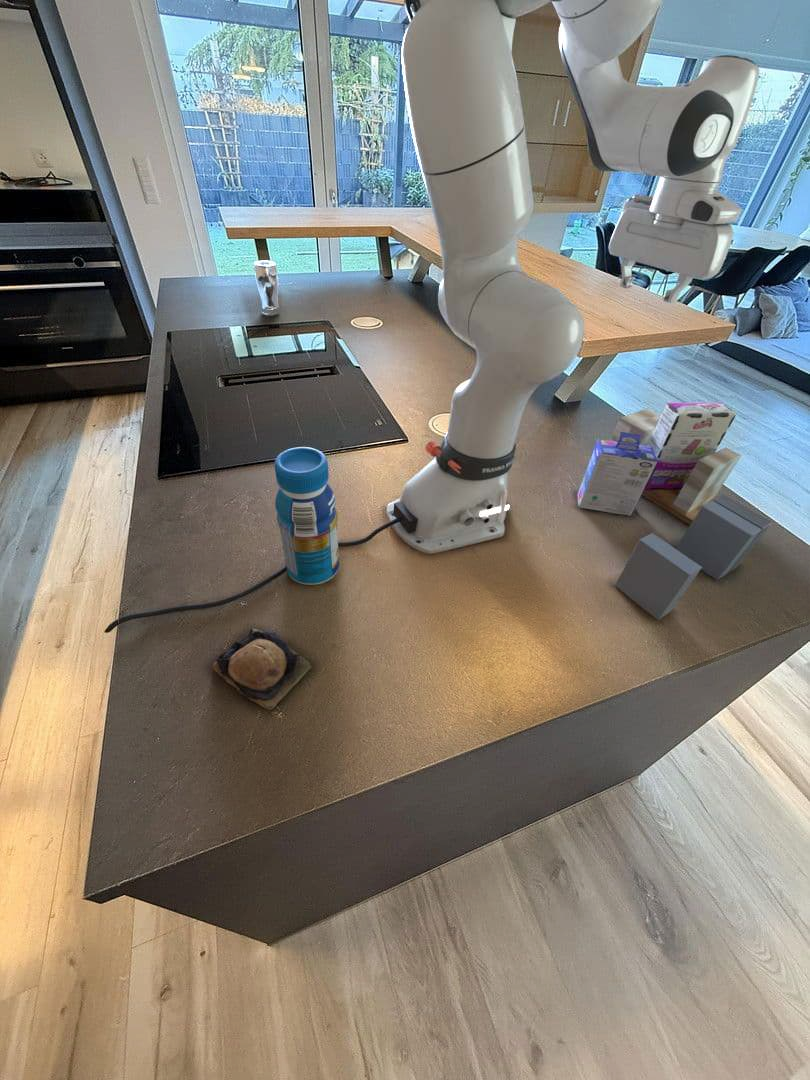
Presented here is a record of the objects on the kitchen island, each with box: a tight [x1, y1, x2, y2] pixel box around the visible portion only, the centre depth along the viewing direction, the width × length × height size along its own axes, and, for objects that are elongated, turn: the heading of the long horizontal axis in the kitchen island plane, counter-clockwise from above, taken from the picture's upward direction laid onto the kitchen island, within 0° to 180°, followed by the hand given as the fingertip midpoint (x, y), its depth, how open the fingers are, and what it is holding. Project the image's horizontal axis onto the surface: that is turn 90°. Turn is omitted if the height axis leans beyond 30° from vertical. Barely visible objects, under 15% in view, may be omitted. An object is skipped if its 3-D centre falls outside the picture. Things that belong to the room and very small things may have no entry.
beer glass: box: [253, 260, 280, 317], centre depth 152 cm, size 7×7×15 cm
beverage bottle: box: [274, 446, 340, 586], centre depth 66 cm, size 8×8×20 cm
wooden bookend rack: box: [610, 408, 742, 526], centre depth 90 cm, size 11×23×11 cm, turn 33°
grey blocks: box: [614, 494, 773, 621], centre depth 72 cm, size 22×8×10 cm, turn 123°
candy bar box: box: [644, 402, 737, 490], centre depth 88 cm, size 11×5×16 cm, turn 96°
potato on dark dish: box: [212, 628, 312, 711], centre depth 58 cm, size 11×8×4 cm
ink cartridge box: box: [577, 432, 658, 517], centre depth 84 cm, size 10×6×14 cm, turn 78°
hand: (646, 294), depth 84 cm, fingers open, 8 cm apart
